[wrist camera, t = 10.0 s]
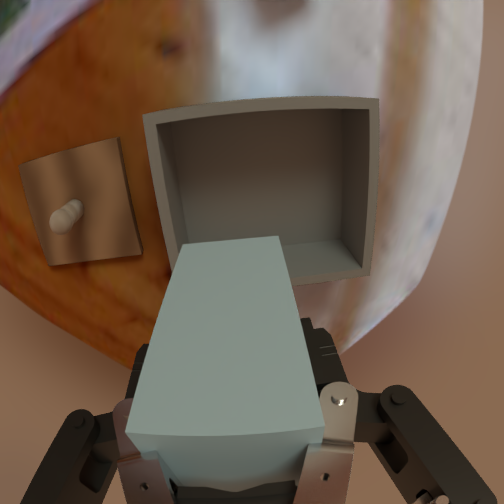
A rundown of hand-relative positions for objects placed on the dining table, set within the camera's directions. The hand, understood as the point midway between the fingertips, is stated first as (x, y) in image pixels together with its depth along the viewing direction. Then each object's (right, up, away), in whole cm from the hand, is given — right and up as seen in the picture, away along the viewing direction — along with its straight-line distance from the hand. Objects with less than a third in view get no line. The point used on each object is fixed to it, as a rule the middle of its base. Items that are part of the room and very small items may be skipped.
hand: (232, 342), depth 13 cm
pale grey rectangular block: (0, +2, +5) cm, 5 cm away
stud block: (-20, +9, +21) cm, 30 cm away
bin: (+2, +12, +21) cm, 24 cm away
